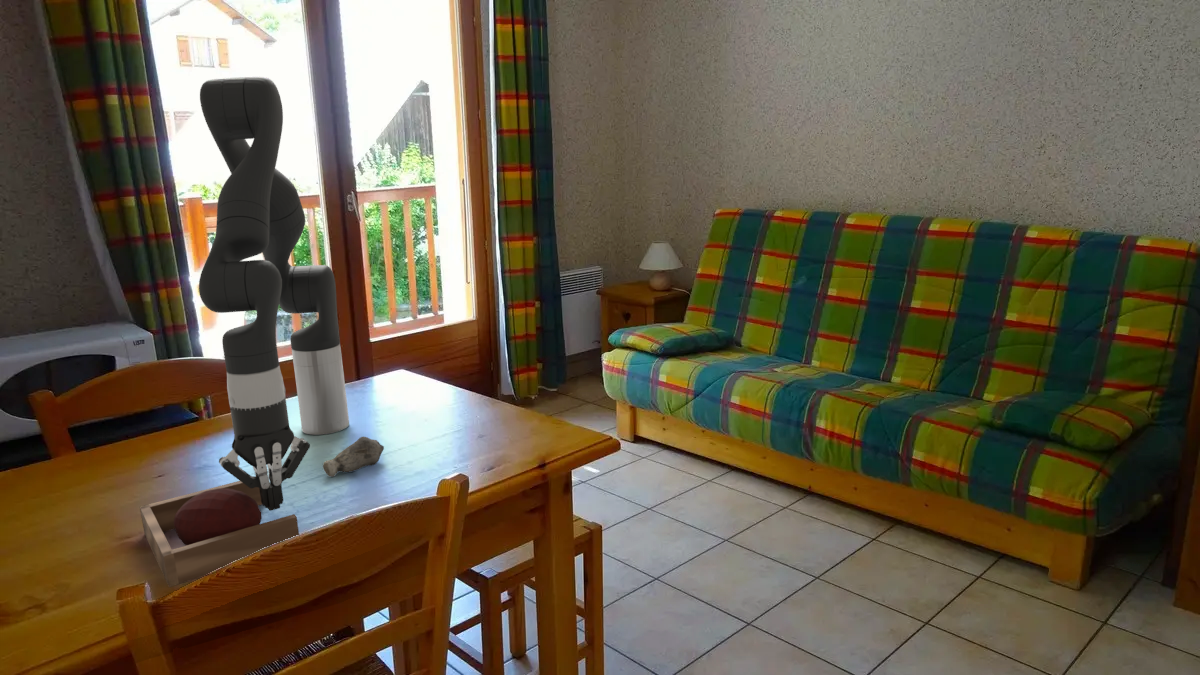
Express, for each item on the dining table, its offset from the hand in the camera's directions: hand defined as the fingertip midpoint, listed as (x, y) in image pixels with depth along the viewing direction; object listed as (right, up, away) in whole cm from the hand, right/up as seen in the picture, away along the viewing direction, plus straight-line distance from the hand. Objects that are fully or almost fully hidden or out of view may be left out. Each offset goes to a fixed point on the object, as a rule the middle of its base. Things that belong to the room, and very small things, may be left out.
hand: (273, 507), depth 122 cm
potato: (-6, -5, -4) cm, 9 cm away
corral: (-6, -4, -2) cm, 8 cm away
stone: (+6, +2, +22) cm, 23 cm away
